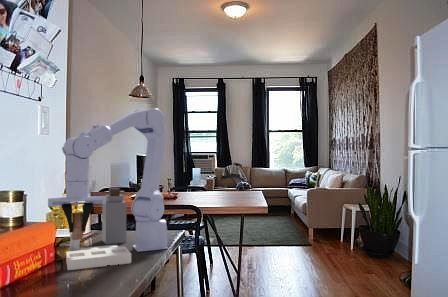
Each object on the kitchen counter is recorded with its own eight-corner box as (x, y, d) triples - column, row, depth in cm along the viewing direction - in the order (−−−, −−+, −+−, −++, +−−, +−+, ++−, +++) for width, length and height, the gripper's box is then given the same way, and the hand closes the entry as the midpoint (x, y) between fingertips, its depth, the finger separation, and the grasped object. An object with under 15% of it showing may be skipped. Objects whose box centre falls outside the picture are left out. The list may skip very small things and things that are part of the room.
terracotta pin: (81, 237, 105) (82, 211, 105) (82, 239, 102) (83, 213, 103) (71, 238, 104) (72, 212, 104) (72, 240, 101) (72, 213, 102)
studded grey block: (117, 249, 120) (117, 228, 120) (120, 253, 114) (120, 231, 114) (68, 254, 114) (68, 232, 114) (69, 259, 108) (69, 235, 108)
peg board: (124, 254, 113) (124, 246, 113) (131, 263, 104) (131, 253, 104) (66, 260, 106) (66, 251, 107) (67, 270, 97) (67, 260, 97)
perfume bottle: (105, 244, 127) (106, 189, 127) (102, 240, 133) (102, 188, 133) (126, 242, 130) (126, 189, 130) (121, 238, 136) (122, 187, 136)
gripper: (48, 182, 97) (47, 236, 97) (107, 181, 103) (107, 232, 103) (48, 181, 103) (47, 231, 103) (104, 179, 109) (103, 227, 109)
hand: (77, 231), depth 103 cm, fingers closed on terracotta pin, 3 cm apart
